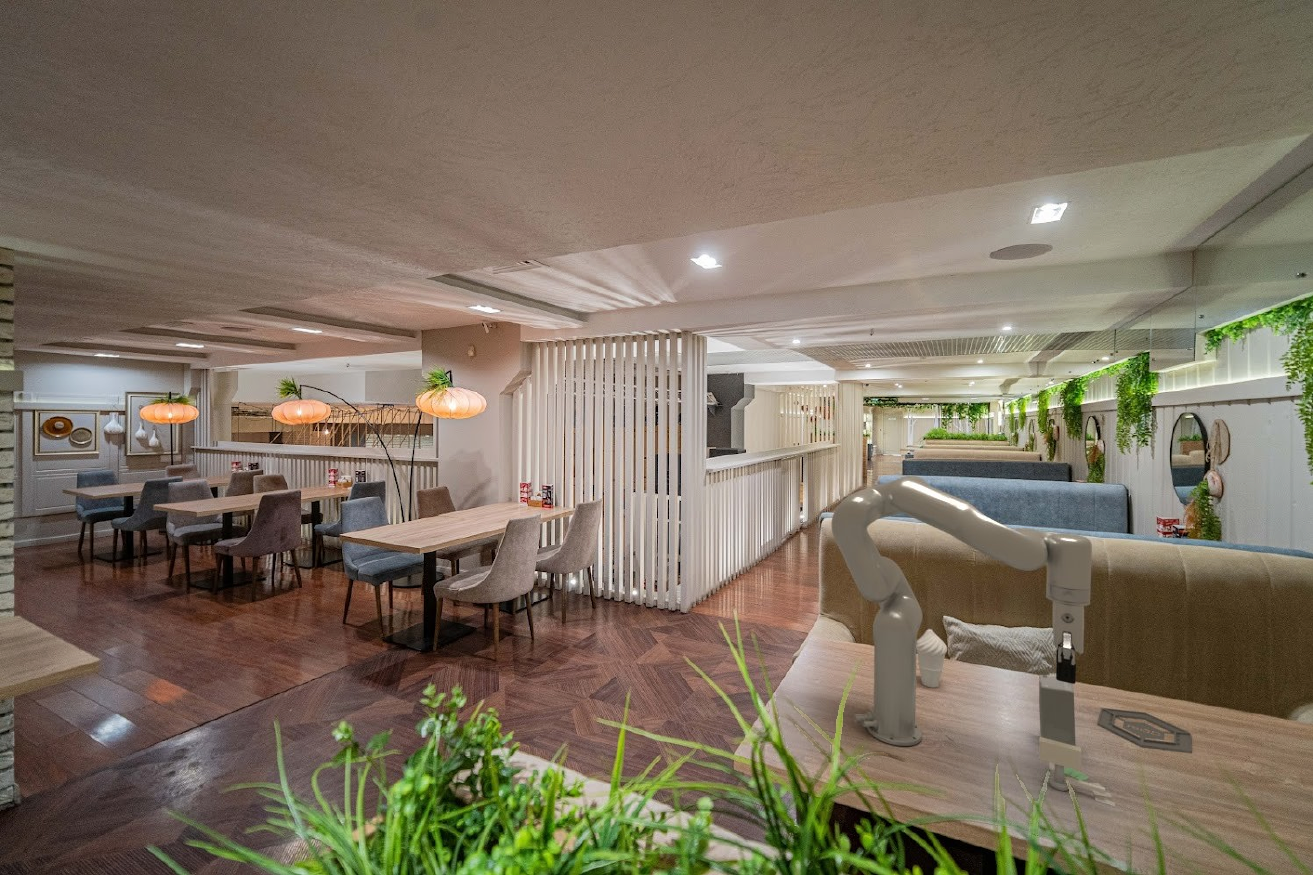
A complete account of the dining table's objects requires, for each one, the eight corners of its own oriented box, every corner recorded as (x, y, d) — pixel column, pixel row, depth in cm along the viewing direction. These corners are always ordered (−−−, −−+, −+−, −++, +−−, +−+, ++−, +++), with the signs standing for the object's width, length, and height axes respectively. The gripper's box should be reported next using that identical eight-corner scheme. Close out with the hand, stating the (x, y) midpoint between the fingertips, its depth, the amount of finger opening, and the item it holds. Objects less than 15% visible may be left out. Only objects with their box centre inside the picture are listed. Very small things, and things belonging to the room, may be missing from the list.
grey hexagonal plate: (1094, 733, 138) (1095, 730, 138) (1103, 703, 153) (1103, 700, 153) (1191, 764, 127) (1192, 760, 126) (1190, 728, 141) (1190, 725, 141)
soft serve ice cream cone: (951, 691, 159) (953, 635, 158) (922, 691, 159) (923, 635, 158) (937, 677, 167) (938, 624, 167) (909, 677, 167) (910, 624, 167)
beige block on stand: (1038, 784, 117) (1039, 742, 116) (1038, 775, 119) (1039, 734, 119) (1105, 804, 111) (1107, 760, 110) (1103, 794, 114) (1105, 752, 113)
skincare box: (1076, 763, 126) (1078, 694, 126) (1038, 752, 130) (1040, 685, 129) (1072, 744, 133) (1075, 679, 133) (1036, 735, 137) (1038, 671, 137)
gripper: (1092, 608, 109) (1089, 694, 110) (1088, 586, 123) (1085, 662, 124) (1045, 600, 114) (1043, 683, 114) (1046, 580, 128) (1044, 654, 128)
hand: (1065, 672), depth 119 cm, fingers open, 9 cm apart
